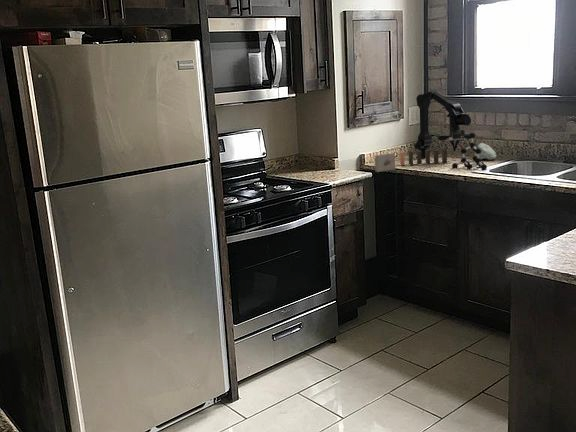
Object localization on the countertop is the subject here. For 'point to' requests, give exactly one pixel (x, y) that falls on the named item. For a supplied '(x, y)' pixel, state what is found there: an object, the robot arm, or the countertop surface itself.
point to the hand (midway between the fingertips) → (454, 151)
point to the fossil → (384, 162)
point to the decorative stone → (486, 152)
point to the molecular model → (475, 158)
